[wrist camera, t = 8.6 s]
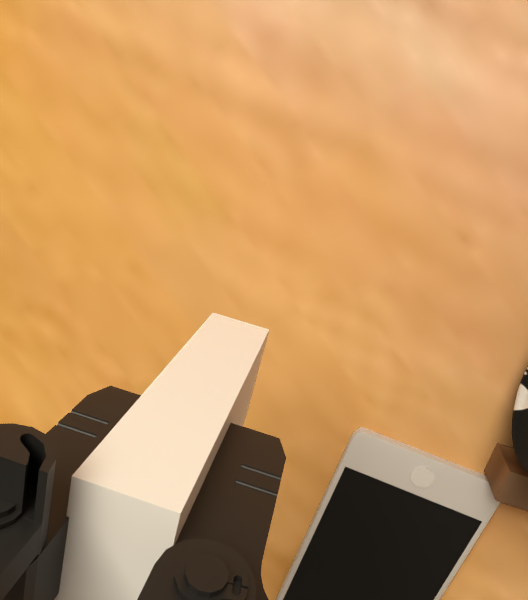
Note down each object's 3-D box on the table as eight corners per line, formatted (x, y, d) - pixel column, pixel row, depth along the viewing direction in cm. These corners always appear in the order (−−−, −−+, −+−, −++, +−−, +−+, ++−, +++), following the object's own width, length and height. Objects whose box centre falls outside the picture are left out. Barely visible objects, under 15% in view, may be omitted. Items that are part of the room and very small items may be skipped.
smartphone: (504, 478, 23) (509, 491, 22) (374, 687, 28) (374, 705, 27) (356, 419, 23) (356, 430, 22) (257, 635, 29) (253, 651, 28)
